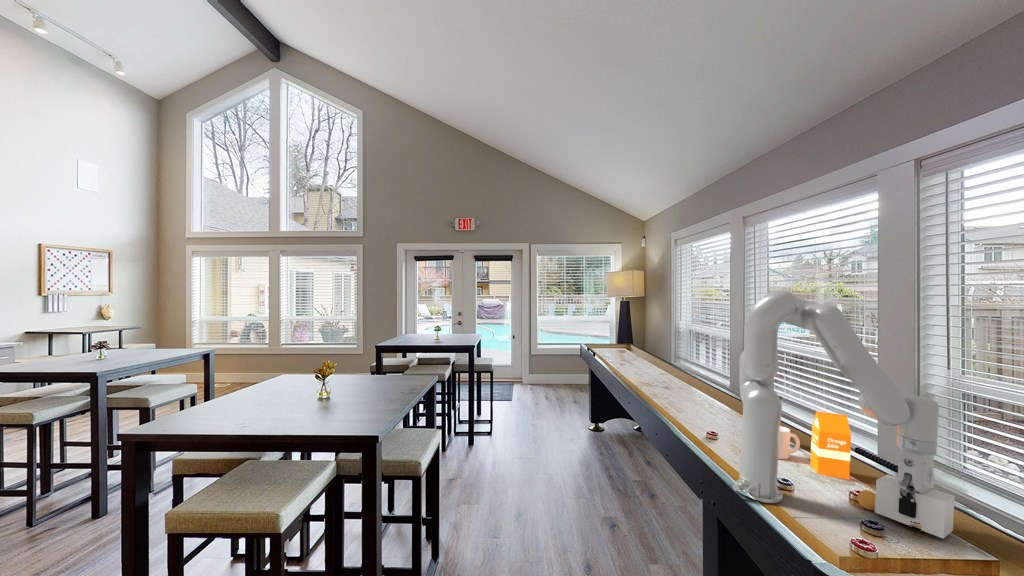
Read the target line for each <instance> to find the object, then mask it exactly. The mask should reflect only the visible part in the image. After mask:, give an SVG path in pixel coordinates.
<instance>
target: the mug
mask: <svg viewBox="0 0 1024 576" xmlns="http://www.w3.org/2000/svg"><path fill="white" fill-rule="evenodd" d="M791 438H793V439H794V441H795V444H794V445H795V446H794V447H793V448H790V446H791ZM800 447H801V441H800V438H799V437H798V435H796V433H793V432H791V429H790V428H788V427H785V426H782V425H780V429H779V450H778V460H780V459H786V460H788V459H789V458H790V454H794V453H796V452H797V451H798V450H799V449H800Z"/></svg>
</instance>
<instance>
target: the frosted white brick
mask: <svg viewBox="0 0 1024 576" xmlns="http://www.w3.org/2000/svg"><path fill="white" fill-rule="evenodd" d="M875 483H876V484H875V494H876V497H875V510H874V513H875V514H878V515H880V516H883V517H886V518H889V519H891V520H894V521H895V522H896V521H897V522H898V523H901V524H904V525H907V526H909V527H911V526H910V524H909V521H912V522H916V523H920V524H921V525H922V529H921V530H920V531H922V532H925V533H928V534H930V535H933V536H935V537H938V538H940V539H945V538H946V537H947V536H949V535H950V534H951V533H952V532H953V531H954V518H955V517H954V516H955V515H954V512H955V498H956V496H955V495H953V494H949V493H947V492H944V491H940V490H938V489H934V488H932V489H931V490H929V491H928V492H926V493H924V494H920V493H919V492H916V498H915V502H916V503H917V504H916V518H911V517H908V516H906V515H903V514H900V513H899V495H900V486H899V485H898V476H897V477H896V476H893V475H890V474H885V475H883V476H881V477H879V478H877V479H876V481H875ZM909 488H911V489H914V488H913V487H909ZM908 492H910V494H911V496H912V492H911V491H908Z"/></svg>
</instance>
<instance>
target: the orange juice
mask: <svg viewBox="0 0 1024 576" xmlns="http://www.w3.org/2000/svg"><path fill="white" fill-rule="evenodd" d="M848 419H849V418H848V415H847V414H839V413H832V412H823V411H816V412H815V416H814V418H813V422H812V424H811V441H810V442H811V443H810V465H811V466H812V467H813V468H812V467H811V466H810V467H811V468H812V469H813V471H814V470H815V471H816V472H817V473H818V474H817V473H816V472H815V471H814V472H815V473H816V474H817V475H820V474H822V475H821V476H827V477H834V478H837V479H838V478H839V479H845V480H850V466H851V449H852V448H851V446H852V434H851V427H850V424H849V420H848Z"/></svg>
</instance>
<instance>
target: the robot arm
mask: <svg viewBox="0 0 1024 576" xmlns="http://www.w3.org/2000/svg"><path fill="white" fill-rule="evenodd" d="M782 323H786V324H789V325H791V326H793V327H797V328H801V329H803V330H807V331H811V332H813V334H814V335H815V337H816V338H817V340H818V341H819V343H820V344H821V346H822V348H823V349H824V351H825V352H826V354H827V356H828V357H829V359H830V361H831V363H832V364H833V365H834V366H835V367H836V368H837V370H839V371H840V373H842V374H843V375H844V376H845V377H847V378H848V380H849V381H851V383H852V384H853V385H854V386H855V388H857V390H858V392H859V393H860V395H859V397H858V405H859V407H860V409H861V410H862V411H863V412H864V413H865V414H866V415H868V416H870V417H871V418H873V419H875V420H877V421H878V422H879V423H881V424H883V425H885V426H889V427H897V428H896V444H895V445H896V447H897V448H899V449H900V452H899V459H898V470H897V478H898V485H899V486H900V495H899V513H900V514H903V515H906V516H908V517H911V518H916V504H917V503H916V502H915V498H916V492H919V493H920V494H924V493H926V492H928V491H929V490H931V489H934V487H935V462H934V460H935V459H934V456H937V449H938V431H939V430H938V427H939V411H940V410H939V404H938V402H937V401H935V399H933V398H929V397H925V396H919V395H911V394H909V395H908V394H905V395H904V394H902V393H901V391H900V390H899V389H898V387H897V386H896V385H895V383H894V381H893V380H892V379H891V377H890V376H889V375H888V374H887V373H886V371H885V370H884V369H883V368H882V366H880V364H879V362H877V360H876V359H875V358H874V356H873V355H871V353H870V352H869V351H868V350H867V348H866V346H865V345H864V344H863V342H862V340H861V339H860V337H859V336H858V334H857V332H856V331H855V329H854V328H853V326H852V325H851V323H850V322H849V320H848V319H847V317H846V316H845V315H844V312H842V311H841V310H840V309H839V308H838V307H836V306H835V305H832V304H829V303H826V304H825V303H817V302H814V301H809V300H806V299H803V298H799V297H797V296H796V295H795V294H793V293H792V292H790V291H789V290H788V291H787V290H775V291H770V292H768V293H765V295H764V296H763V297H762V298H761V299H760V300H758V301H757V302H756V303H755V304H754V305H753V306H752V308H750V310H749V312H748V313H747V316H746V318H745V322H744V336H743V337H744V338H743V351H742V352H741V354H740V357H739V364H738V366H739V368H738V370H739V371H738V373H739V374H738V375H739V376H738V377H739V396H740V399H741V402H742V408H743V409H742V410H743V411H742V419H741V434H740V438H741V439H740V455H739V456H740V458H739V479H736V480H735V481H734V482H736V483H737V484H734V485H733V484H732V489H733V491H734V492H736V491H740V490H745V492H746V493H749V494H750V495H751V496H753V497H754V498H756V499H757V500H758V501H757V502H759V501H760V502H761V503H766V504H777V503H778V504H779V503H781V502H782V501H783V500H784V497H783V496H784V495H783V493H782V492H781V491H780V490H779V489H777V486H778V485H777V484H778V469H779V459H778V450H779V429H780V426H781V421H782V420H781V419H782V413H783V405H782V399H781V400H780V398H779V394H778V393H777V392H776V391H775V377H776V376H777V375H778V374H777V373H778V371H779V356H778V336H779V335H778V333H779V329H780V326H781V324H782ZM909 487H913V488H914V489H911V488H909ZM908 491H911V492H912V496H911V494H910V492H908Z"/></svg>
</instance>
